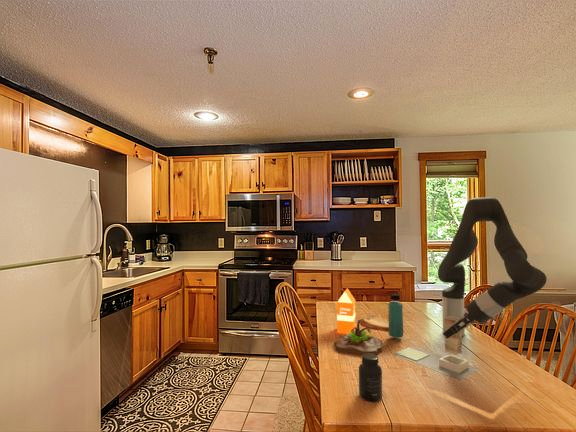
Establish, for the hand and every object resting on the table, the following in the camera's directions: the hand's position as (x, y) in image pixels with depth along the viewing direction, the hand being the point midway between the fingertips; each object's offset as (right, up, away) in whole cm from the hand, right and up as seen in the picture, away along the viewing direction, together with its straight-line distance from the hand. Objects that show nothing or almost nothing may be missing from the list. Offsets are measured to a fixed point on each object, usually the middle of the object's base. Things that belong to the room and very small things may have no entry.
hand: (447, 334), depth 115 cm
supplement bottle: (-33, -12, -19) cm, 40 cm away
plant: (-28, -13, +20) cm, 37 cm away
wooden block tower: (+1, -6, -1) cm, 6 cm away
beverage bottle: (-9, -13, +29) cm, 33 cm away
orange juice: (-29, -14, +40) cm, 52 cm away
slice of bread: (-11, -14, +49) cm, 52 cm away
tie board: (-4, -12, +3) cm, 13 cm away
